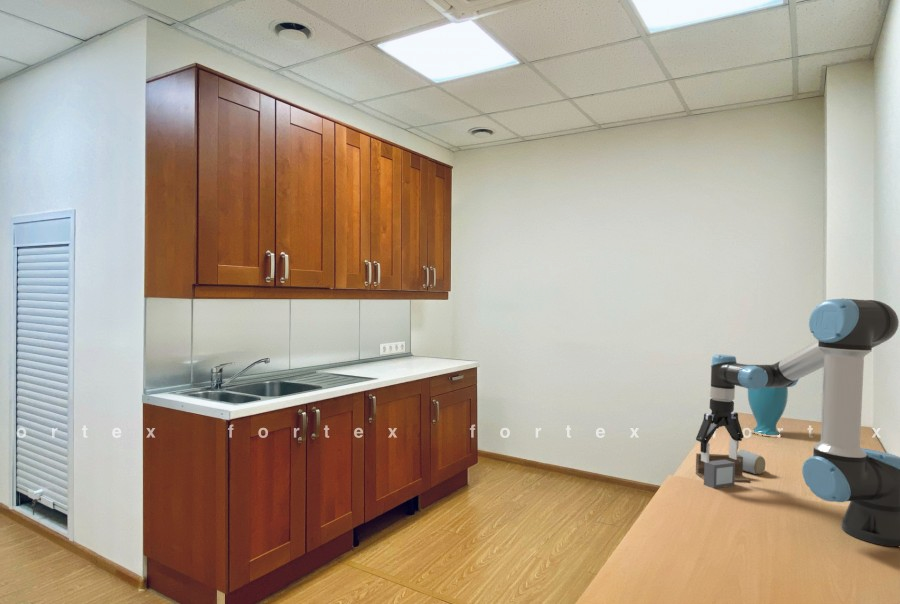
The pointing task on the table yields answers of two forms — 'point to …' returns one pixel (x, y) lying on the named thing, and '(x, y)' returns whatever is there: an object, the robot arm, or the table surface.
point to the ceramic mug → (752, 462)
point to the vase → (767, 408)
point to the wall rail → (715, 457)
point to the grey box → (719, 473)
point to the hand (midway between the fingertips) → (719, 460)
